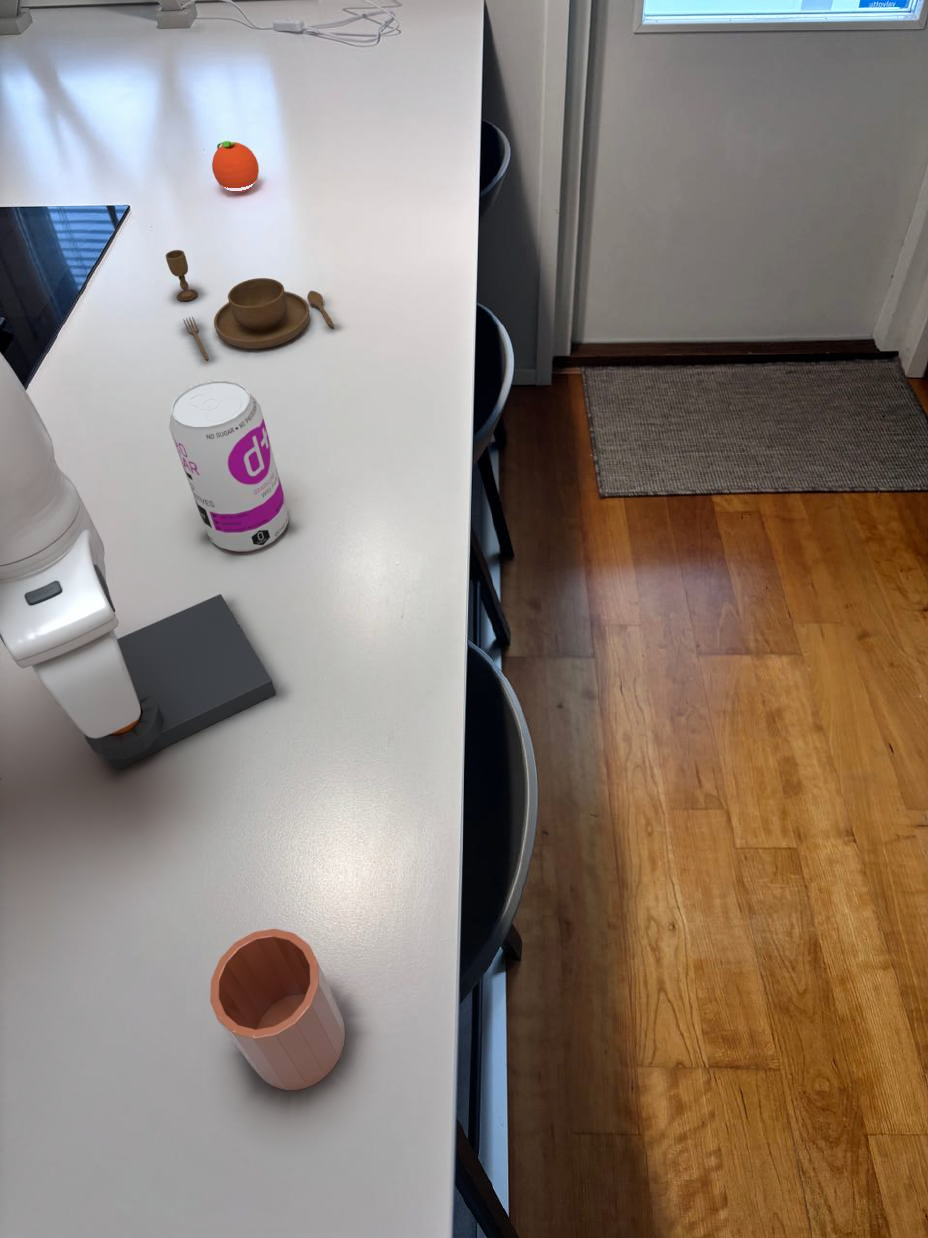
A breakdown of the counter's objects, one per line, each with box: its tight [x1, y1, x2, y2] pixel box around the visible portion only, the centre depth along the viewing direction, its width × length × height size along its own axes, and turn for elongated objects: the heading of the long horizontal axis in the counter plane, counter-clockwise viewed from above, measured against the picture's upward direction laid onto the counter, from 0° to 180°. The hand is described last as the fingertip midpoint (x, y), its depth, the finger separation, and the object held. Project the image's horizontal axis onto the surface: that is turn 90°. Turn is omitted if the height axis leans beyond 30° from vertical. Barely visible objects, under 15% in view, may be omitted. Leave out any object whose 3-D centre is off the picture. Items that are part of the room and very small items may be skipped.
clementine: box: [211, 140, 260, 194], centre depth 145 cm, size 8×7×7 cm
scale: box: [83, 593, 277, 770], centre depth 81 cm, size 15×13×4 cm
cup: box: [209, 928, 346, 1091], centre depth 58 cm, size 6×6×10 cm
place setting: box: [165, 249, 335, 361], centre depth 120 cm, size 18×20×6 cm
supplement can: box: [168, 379, 290, 553], centre depth 90 cm, size 8×8×15 cm
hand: (103, 679), depth 73 cm, fingers closed
